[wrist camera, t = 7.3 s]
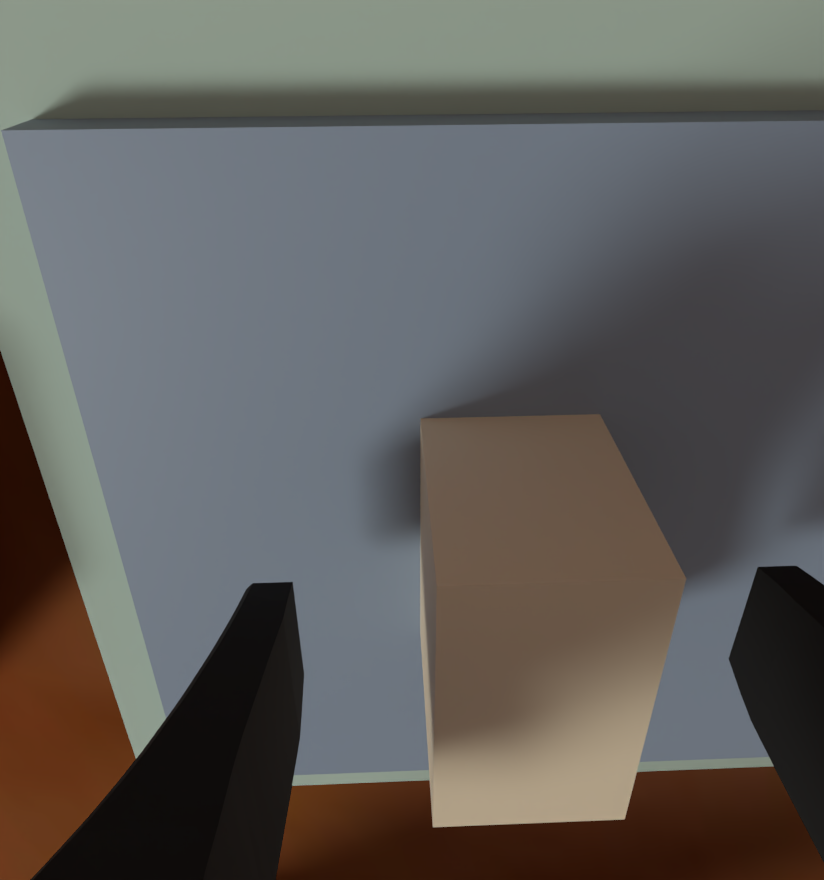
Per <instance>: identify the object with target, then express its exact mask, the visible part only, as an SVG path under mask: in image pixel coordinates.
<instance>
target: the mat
mask: <svg viewBox="0 0 824 880" xmlns="http://www.w3.org/2000/svg"><path fill="white" fill-rule="evenodd" d="M795 110H824V0H0V351H1V354H2V357H3V360H4V363H5V366H6V369H7V372H8V375H9V378H10V381H11V384H12V387H13V390H14V393H15V396H16V399H17V402H18V405H19V408H20V411H21V414H22V417H23V420H24V423H25V426H26V429H27V432H28V435H29V438H30V441H31V444H32V447H33V450H34V453H35V456H36V459H37V462H38V465H39V468H40V471H41V474H42V477H43V480H44V483H45V486H46V489H47V492H48V495H49V498H50V501H51V504H52V507H53V510H54V513H55V516H56V519H57V522H58V525H59V529H60V532H61V535H62V538H63V541H64V544H65V547H66V550H67V553H68V556H69V559H70V562H71V565H72V568H73V571H74V574H75V577H76V580H77V583H78V586H79V589H80V592H81V595H82V598H83V601H84V604H85V607H86V610H87V613H88V616H89V619H90V622H91V625H92V628H93V631H94V634H95V637H96V640H97V643H98V646H99V649H100V652H101V655H102V658H103V661H104V664H105V667H106V670H107V673H108V676H109V679H110V682H111V685H112V688H113V691H114V694H115V697H116V700H117V703H118V706H119V709H120V712H121V715H122V718H123V721H124V724H125V727H126V730H127V733H128V736H129V739H130V742H131V745H132V748H133V751H134V754H135V757H136V759H137V757H138V756H139V755H140V753H141V752H142V751H143V749H144V748H145V747H146V745H147V744H148V743H149V741H150V740H151V739H152V737H153V736H154V734H155V733H156V732H157V730H158V729H159V728H160V726H161V725H162V723H163V722H164V721H165V719H166V716H165V713H164V709H163V706H162V702H161V699H160V695H159V691H158V688H157V684H156V681H155V677H154V674H153V670H152V667H151V663H150V659H149V656H148V652H147V649H146V645H145V642H144V638H143V634H142V631H141V627H140V624H139V620H138V617H137V613H136V610H135V606H134V602H133V599H132V595H131V592H130V588H129V585H128V581H127V577H126V574H125V570H124V567H123V563H122V560H121V556H120V553H119V549H118V545H117V542H116V538H115V535H114V531H113V528H112V524H111V521H110V517H109V513H108V510H107V506H106V503H105V499H104V496H103V492H102V488H101V485H100V481H99V478H98V474H97V471H96V467H95V464H94V460H93V456H92V453H91V449H90V446H89V442H88V439H87V435H86V431H85V428H84V424H83V421H82V417H81V414H80V410H79V407H78V403H77V399H76V396H75V392H74V389H73V385H72V382H71V378H70V374H69V371H68V367H67V364H66V360H65V357H64V353H63V350H62V346H61V342H60V339H59V335H58V332H57V328H56V325H55V321H54V317H53V314H52V310H51V307H50V303H49V300H48V296H47V293H46V289H45V285H44V282H43V278H42V275H41V271H40V268H39V264H38V260H37V257H36V253H35V250H34V246H33V243H32V239H31V236H30V232H29V228H28V225H27V221H26V218H25V214H24V211H23V207H22V203H21V200H20V196H19V193H18V189H17V186H16V182H15V179H14V175H13V171H12V168H11V164H10V161H9V157H8V154H7V150H6V146H5V143H4V139H3V136H2V132H1V130H4V129H6V128H9V127H12V126H15V125H17V124H20V123H23V122H26V121H29V120H31V119H95V118H182V117H270V116H358V115H445V114H533V113H620V112H708V111H795ZM768 766H774V765H773V763H772V762H771V760H770V758H769V757H756V758H730V759H704V760H678V761H652V762H639V765H638V769H637V772H644V771H669V770H693V769H718V768H743V767H768ZM420 780H430V777H429V770H419V771H393V772H367V773H341V774H315V775H294V777H293V783H292V786H296V785H321V784H346V783H371V782H395V781H420Z"/></svg>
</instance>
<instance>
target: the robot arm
mask: <svg viewBox="0 0 824 880" xmlns="http://www.w3.org/2000/svg"><path fill="white" fill-rule="evenodd" d="M729 662H730V664H731V667H732V670H733V673H734V676H735V679H736V682H737V685H738V688H739V690H740V693H741V696H742V699H743V701H744V704H745V706H746V709H747V712H748V714H749V717H750V719H751V722H752V724H753V726H754V728H755V730H756V732H757V734H758V736H759V738H760V740H761V742H762V744H763V746H764V748H765V750H766V752H767V754H768V756H769V758H770V760H771V762H772V763H773V765H774V767H775V769H776V771H777V773H778V775H779V777H780V779H781V781H782V783H783V785H784V787H785V789H786V791H787V792H788V794H789V796H790V798H791V800H792V802H793V804H794V806H795V808H796V810H797V812H798V814H799V816H800V817H801V819H802V821H803V823H804V825H805V827H806V829H807V831H808V833H809V835H810V837H811V839H812V840H813V842H814V844H815V846H816V848H817V850H818V852H819V854H820V856H821V858H822V860H823V862H824V585H823V584H822V583H820V582H819V581H818V580H816V579H815V578H814V577H812V576H811V575H809V574H808V573H806V572H805V571H804V570H802V569H801V568H799V567H798V566H768V567H758V568H757V571H756V574H755V577H754V580H753V583H752V586H751V590H750V593H749V596H748V599H747V602H746V605H745V609H744V612H743V615H742V618H741V621H740V624H739V627H738V631H737V634H736V637H735V640H734V643H733V646H732V649H731V653H730V656H729ZM303 685H304V669H303V661H302V653H301V645H300V637H299V629H298V621H297V613H296V604H295V596H294V588H293V582H275V583H252V584H251V585H250V586H249V587H248V588H247V589H246V590H245V592H244V594H243V596H242V598H241V600H240V602H239V604H238V606H237V608H236V610H235V611H234V613H233V615H232V617H231V619H230V620H229V622H228V624H227V626H226V627H225V629H224V631H223V633H222V634H221V636H220V638H219V639H218V641H217V642H216V644H215V646H214V647H213V649H212V651H211V652H210V654H209V656H208V657H207V659H206V660H205V662H204V663H203V665H202V666H201V668H200V669H199V671H198V673H197V674H196V676H195V677H194V679H193V680H192V682H191V683H190V685H189V686H188V688H187V689H186V691H185V692H184V694H183V695H182V697H181V698H180V700H179V701H178V703H177V704H176V706H175V707H174V708H173V710H172V711H171V713H170V714H169V715H168V717H167V718H166V719H165V721H164V722H163V723H162V725H161V726H160V728H159V729H158V730H157V732H156V733H155V734H154V736H153V737H152V739H151V740H150V741H149V743H148V744H147V745H146V747H145V748H144V749H143V751H142V752H141V753H140V755H139V756H138V757H137V759H136V760H135V761H134V762H133V764H132V765H131V766H130V767H129V769H128V770H127V771H126V773H125V774H124V775H123V776H122V777H121V779H120V780H119V781H118V782H117V784H116V785H115V786H114V787H113V789H112V790H111V791H110V792H109V793H108V794H107V796H106V797H105V798H104V799H103V800H102V802H101V803H100V804H99V805H98V806H97V807H96V809H95V810H94V811H93V812H92V813H91V814H90V816H89V817H88V818H87V819H86V820H85V821H84V822H83V824H82V825H81V826H80V827H79V828H78V829H77V830H76V831H75V832H74V833H73V835H72V836H71V837H70V838H69V839H68V840H67V841H66V842H65V843H64V844H63V845H62V847H61V848H60V849H59V850H58V851H57V852H56V853H55V854H54V855H53V856H52V857H51V859H50V860H49V861H48V862H47V863H46V864H45V865H44V866H43V867H42V868H41V869H40V870H39V871H38V872H37V873H36V874H35V876H34V877H33V878H32V879H31V880H276V874H277V869H278V863H279V857H280V851H281V846H282V840H283V834H284V829H285V823H286V817H287V811H288V806H289V800H290V794H291V788H292V783H293V777H294V771H295V765H296V759H297V753H298V747H299V741H300V731H301V717H302V702H303Z"/></svg>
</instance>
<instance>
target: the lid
mask: <svg viewBox="0 0 824 880" xmlns="http://www.w3.org/2000/svg"><path fill="white" fill-rule="evenodd" d="M1 132H2V136H3V139H4V143H5V146H6V150H7V154H8V157H9V161H10V164H11V168H12V171H13V175H14V179H15V182H16V186H17V189H18V193H19V196H20V200H21V203H22V207H23V211H24V214H25V218H26V221H27V225H28V228H29V232H30V236H31V239H32V243H33V246H34V250H35V253H36V257H37V260H38V264H39V268H40V271H41V275H42V278H43V282H44V285H45V289H46V293H47V296H48V300H49V303H50V307H51V310H52V314H53V317H54V321H55V325H56V328H57V332H58V335H59V339H60V342H61V346H62V350H63V353H64V357H65V360H66V364H67V367H68V371H69V374H70V378H71V382H72V385H73V389H74V392H75V396H76V399H77V403H78V407H79V410H80V414H81V417H82V421H83V424H84V428H85V431H86V435H87V439H88V442H89V446H90V449H91V453H92V456H93V460H94V464H95V467H96V471H97V474H98V478H99V481H100V485H101V488H102V492H103V496H104V499H105V503H106V506H107V510H108V513H109V517H110V521H111V524H112V528H113V531H114V535H115V538H116V542H117V545H118V549H119V553H120V556H121V560H122V563H123V567H124V570H125V574H126V577H127V581H128V585H129V588H130V592H131V595H132V599H133V602H134V606H135V610H136V613H137V617H138V620H139V624H140V627H141V631H142V634H143V638H144V642H145V645H146V649H147V652H148V656H149V659H150V663H151V667H152V670H153V674H154V677H155V681H156V684H157V688H158V691H159V695H160V699H161V702H162V706H163V709H164V713H165V716H166V718H167V717H168V715H169V714H170V713H171V711H172V710H173V708H174V707H175V706H176V704H177V703H178V701H179V700H180V698H181V697H182V695H183V694H184V692H185V691H186V689H187V688H188V686H189V685H190V683H191V682H192V680H193V679H194V677H195V676H196V674H197V673H198V671H199V669H200V668H201V666H202V665H203V663H204V662H205V660H206V659H207V657H208V656H209V654H210V652H211V651H212V649H213V647H214V646H215V644H216V642H217V641H218V639H219V638H220V636H221V634H222V633H223V631H224V629H225V627H226V626H227V624H228V622H229V620H230V619H231V617H232V615H233V613H234V611H235V610H236V608H237V606H238V604H239V602H240V600H241V598H242V596H243V594H244V592H245V590H246V589H247V588H248V587H249V586H250V585H251V584H252V583H275V582H293V588H294V596H295V604H296V613H297V621H298V629H299V637H300V645H301V653H302V661H303V669H304V685H303V702H302V717H301V731H300V741H299V747H298V753H297V759H296V765H295V771H294V775H315V774H341V773H367V772H393V771H419V770H429V777H430V793H431V808H432V824H433V827H453V826H478V825H502V824H527V823H551V822H575V821H600V820H624V819H625V816H626V812H627V808H628V805H629V801H630V797H631V793H632V789H633V785H634V781H635V777H636V773H637V769H638V765H639V762H652V761H678V760H704V759H730V758H756V757H769V756H768V754H767V752H766V750H765V748H764V746H763V744H762V742H761V740H760V738H759V736H758V734H757V732H756V730H755V728H754V726H753V724H752V722H751V719H750V717H749V714H748V712H747V709H746V706H745V704H744V701H743V699H742V696H741V693H740V690H739V688H738V685H737V682H736V679H735V676H734V673H733V670H732V667H731V664H730V662H729V656H730V653H731V649H732V646H733V643H734V640H735V637H736V634H737V631H738V627H739V624H740V621H741V618H742V615H743V612H744V609H745V605H746V602H747V599H748V596H749V593H750V590H751V586H752V583H753V580H754V577H755V574H756V571H757V568H758V567H768V566H798V567H799V568H801V569H802V570H804V571H805V572H806V573H808V574H809V575H811V576H812V577H814V578H815V579H816V580H818V581H819V582H820V583H822V584H823V585H824V110H795V111H708V112H620V113H533V114H445V115H358V116H270V117H182V118H95V119H31V120H29V121H26V122H23V123H20V124H17V125H15V126H12V127H9V128H6V129H4V130H1Z"/></svg>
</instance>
